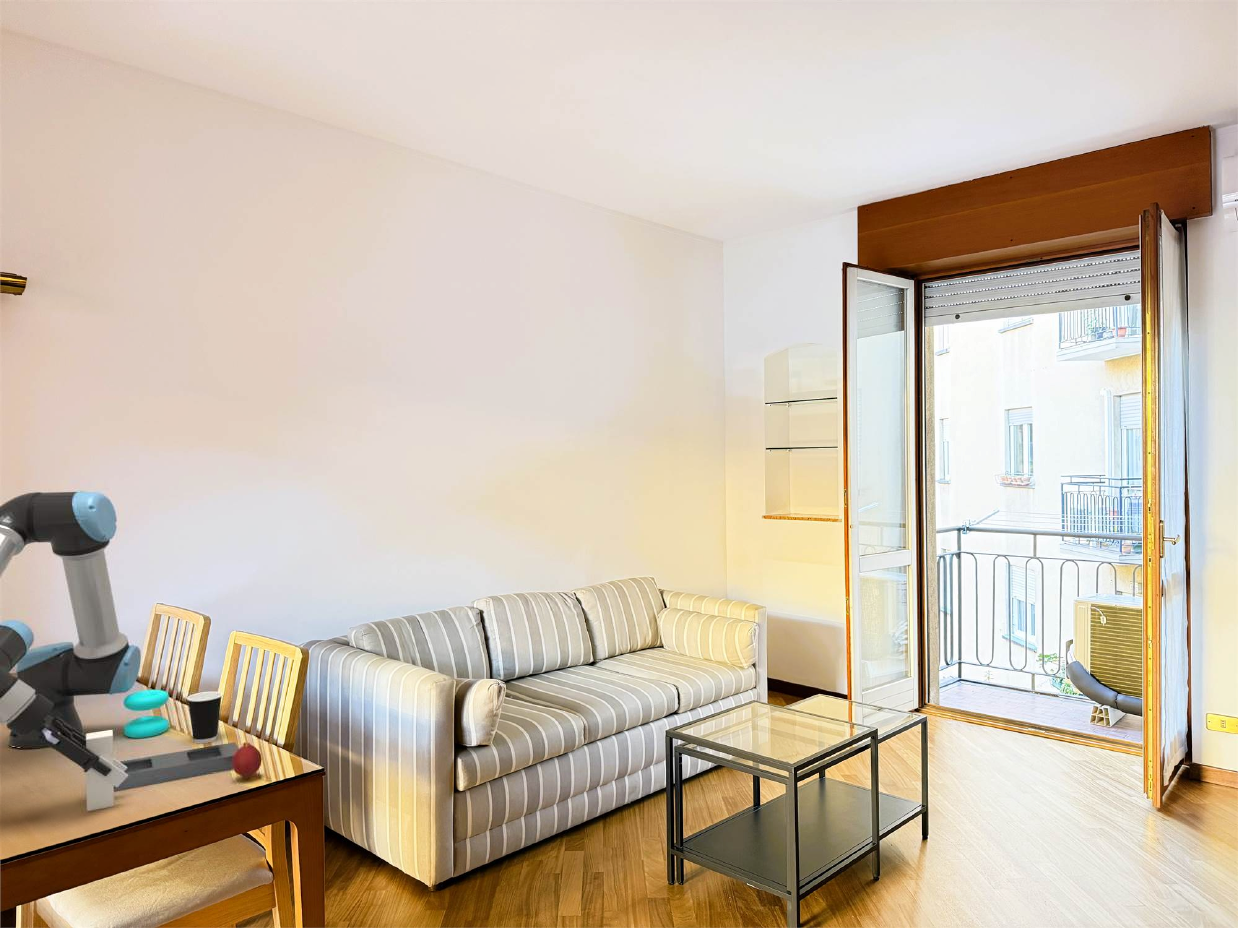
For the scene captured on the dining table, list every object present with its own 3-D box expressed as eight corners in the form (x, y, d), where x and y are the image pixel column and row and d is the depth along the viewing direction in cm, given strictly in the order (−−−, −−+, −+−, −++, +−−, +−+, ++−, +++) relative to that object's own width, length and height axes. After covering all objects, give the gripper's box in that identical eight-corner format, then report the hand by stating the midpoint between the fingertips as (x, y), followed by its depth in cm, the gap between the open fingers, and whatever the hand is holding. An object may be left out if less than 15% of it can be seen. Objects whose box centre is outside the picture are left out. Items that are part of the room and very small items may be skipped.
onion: (238, 774, 184) (237, 737, 184) (265, 772, 185) (265, 736, 185) (228, 783, 178) (227, 746, 178) (256, 782, 179) (255, 744, 179)
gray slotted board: (93, 794, 173) (93, 780, 173) (93, 779, 182) (93, 765, 182) (241, 767, 188) (241, 754, 188) (235, 754, 196) (235, 741, 196)
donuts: (173, 687, 220) (161, 697, 210) (174, 725, 220) (161, 737, 210) (131, 689, 218) (117, 700, 208) (132, 728, 218) (117, 740, 208)
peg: (87, 811, 165) (86, 739, 165) (87, 803, 169) (86, 733, 169) (113, 805, 167) (112, 735, 167) (113, 798, 171) (112, 729, 171)
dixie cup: (179, 743, 206) (179, 698, 206) (207, 733, 213) (206, 690, 213) (203, 747, 202) (202, 701, 202) (230, 737, 210) (229, 692, 210)
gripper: (8, 713, 167) (106, 779, 176) (-1, 737, 152) (107, 807, 161) (40, 683, 170) (135, 749, 179) (35, 703, 155) (139, 774, 164)
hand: (121, 776), depth 170 cm, fingers closed on peg, 4 cm apart
